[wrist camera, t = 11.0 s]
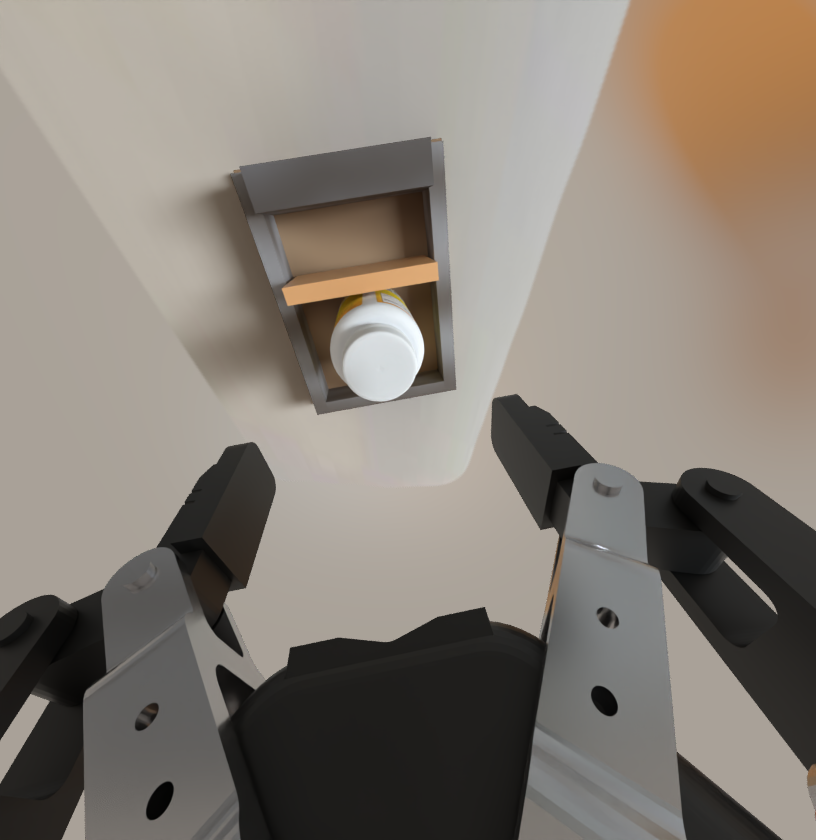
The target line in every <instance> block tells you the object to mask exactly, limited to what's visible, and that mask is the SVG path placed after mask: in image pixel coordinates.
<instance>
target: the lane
mask: <svg viewBox="0 0 816 840" xmlns="http://www.w3.org/2000/svg"><path fill="white" fill-rule="evenodd" d="M233 171H234V173H233V174H231V177H232V180H233V182H234V185H235V188H236V191H237V193H238V196H239V199H240V202H241V204H242V207H243V210H244V213H245V216H246V218H247V221H248V224H249V227H250V229H251V232H252V235H253V238H254V240H255V243H256V246H257V249H258V252H259V254H260V257H261V260H262V263H263V265H264V268H265V271H266V274H267V276H268V279H269V282H270V285H271V288H272V290H273V293H274V296H275V299H276V301H277V304H278V307H279V310H280V312H281V315H282V318H283V321H284V324H285V326H286V329H287V332H288V335H289V337H290V340H291V343H292V346H293V348H294V351H295V354H296V357H297V360H298V362H299V365H300V368H301V371H302V373H303V376H304V379H305V382H306V384H307V387H308V390H309V393H310V396H311V398H312V401H313V404H314V407H315V409H316V412H317V415H319V414H324V413H330V412H335V411H341V410H346V409H352V408H357V407H363V406H368V405H374V404H379V403H385V402H390V401H396V400H401V399H407V398H412V397H418V396H423V395H429V394H434V393H440V392H445V391H451V390H456V377H455V358H454V339H453V320H452V300H451V281H450V262H449V243H448V224H447V205H446V186H445V167H444V148H443V141H442V138H439V139H432V140H431V137H427V138H420V139H414V140H408V141H401V142H395V143H388V144H382V145H375V146H369V147H363V148H356V149H350V150H343V151H337V152H330V153H324V154H317V155H311V156H305V157H298V158H292V159H285V160H279V161H272V162H266V163H260V164H253V165H247V166H240V170H233ZM420 255H425V256H427V257H429V258H431V259H433V260H435V261H437V262H438V275H439V280H438V281H432V282H426V283H420V284H414V285H408V286H402V287H397V288H391V289H392V290H394V291H395V292H396V293H397V294H398V295H399V296H400V297H401V298H402V300H403V301H404V303H405V305H406V306H407V308H408V310H409V311H410V313H411V315H412V317H413V318H414V320H415V322H416V324H417V325H418V327H419V329H420V332H421V334H422V338H423V342H424V357H423V361H422V364H421V367H420V369H419V371H418V373H417V374H416V376H415V379H414V381H413V383H412V385H411V386H410V387H409V389H408V390H407V391H406V392H405V393H403V394H402V395H401V396H399V397H397V398H395V399H392V400H389V401H382V402H378V401H370V400H367V399H364V398H362V397H360V396H358V395H357V394H356V393H354V392H353V391H352V390H351V389H350V387H349V386H348V385H347V383H345V382H344V381H343V380H342V379H341V377H340V376H339V375H338V373H337V372H336V370H335V368H334V366H333V363H332V359H331V354H330V343H331V337H332V333H333V330H334V326H335V322H336V318H337V314H338V310H339V307H340V305H341V302H342V300H343V299H344V297H345V296H344V297H338V298H332V299H326V300H320V301H315V302H309V303H303V304H297V305H291V306H288V305H287V303H286V300H285V297H284V294H283V291H282V288H283V287H284V286H285V285H286V284H288V283H289V282H290V281H291V280H293V279H294V278H295V277H297V276H300V275H306V274H312V273H318V272H324V271H330V270H336V269H342V268H348V267H354V266H360V265H366V264H372V263H378V262H384V261H390V260H396V259H402V258H408V257H414V256H420Z"/></svg>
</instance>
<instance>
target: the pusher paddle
mask: <svg viewBox="0 0 816 840" xmlns="http://www.w3.org/2000/svg"><path fill="white" fill-rule="evenodd" d="M438 280H439V275H438V262H437V261H435V260H433V259H431V258H429V257H427V256H425V255H420V256H414V257H408V258H402V259H396V260H390V261H384V262H378V263H372V264H366V265H360V266H354V267H348V268H342V269H336V270H330V271H324V272H318V273H312V274H306V275H300V276H297V277H295V278H294V279H293V280H291V281H290V282H289V283H288V284H286V285H285V286H284V287H283V288H282V291H283V294H284V297H285V300H286V303H287V305H288V306H291V305H297V304H303V303H309V302H315V301H320V300H326V299H332V298H338V297H344V296H350V295H356V294H361V293H367V292H373V291H379V290H385V289H391V288H397V287H402V286H408V285H414V284H420V283H426V282H432V281H438Z"/></svg>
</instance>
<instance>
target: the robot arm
mask: <svg viewBox="0 0 816 840" xmlns="http://www.w3.org/2000/svg"><path fill="white" fill-rule="evenodd" d="M491 439H492V444H493V448H494V450H495V452H496V454H497V456H498V457H499V459H500V461H501V463H502V464H503V466H504V468H505V469H506V471H507V473H508V475H509V476H510V478H511V480H512V482H513V483H514V485H515V487H516V488H517V490H518V492H519V494H520V495H521V497H522V499H523V501H524V502H525V504H526V506H527V507H528V509H529V511H530V513H531V514H532V516H533V518H534V519H535V521H536V523H537V524H538V526H539V528H540V530H542V529H547V528H552V527H554V528H555V529H556V531H557V532H558V534H559V539H558V543H557V548H556V554H555V559H554V564H553V570H552V575H551V581H550V587H549V591H548V597H547V602H546V607H545V611H544V616H543V620H542V625H541V630H540V635H539V638H537V637H536V636H534V635H532V634H530V633H528V632H526V631H524V630H522V629H519V628H517V627H514V626H511V625H508V624H503V623H499V622H492V621H489V619H488V616H487V612H486V609H485V607H483V608H478V609H473V610H468V611H464V612H459V613H454V614H449V615H445V616H440V617H437V618H435V619H433V620H431V621H429V622H428V623H426V624H424V625H422V626H420V627H418V628H417V629H415V630H413V631H411V632H409V633H407V634H405V635H403V636H402V637H400V638H398V639H396V640H394V641H391V642H376V641H367V640H357V639H347V638H335V639H330V640H326V641H321V642H316V643H311V644H306V645H301V646H297V647H292V648H290V653H289V658H288V664H287V666H286V667H284V668H282V669H281V670H279V671H278V672H276V673H275V674H273V675H272V676H271V677H269V678H268V679H267V680H265V679H264V677H263V676H262V674H261V673H260V672H259V670H258V669H257V668H256V666H255V664H254V663H253V661H252V659H251V657H250V654H249V652H248V650H247V648H246V645H245V643H244V641H243V639H242V636H241V634H240V632H239V630H238V628H237V625H236V623H235V621H234V619H233V616H232V614H231V612H230V609H229V607H228V606H227V605H226V604H225V603H224V602H225V599H226V596H227V593H228V592H229V591H233V590H239V589H244V588H246V586H247V583H248V580H249V576H250V573H251V570H252V567H253V563H254V560H255V557H256V553H257V550H258V547H259V544H260V541H261V537H262V534H263V530H264V527H265V524H266V521H267V518H268V515H269V511H270V508H271V505H272V502H273V498H274V495H275V490H276V484H275V479H274V476H273V474H272V472H271V470H270V468H269V466H268V465H267V463H266V461H265V459H264V457H263V455H262V453H261V452H260V450H259V448H258V446H257V445H256V444H255V443H253V442H250V443H245V444H239V445H234V446H229V447H227V448H226V449H225V451H224V452H223V454H222V456H221V457H220V459H219V461H218V463H217V464H215V465H213V466H212V467H211V468H210V469H208V470H207V472H205V473H204V474H203V475H202V476H201V477H200V478H199V480H198V481H197V483H196V484H195V486H194V488H193V490H192V493H191V494H189V496H188V497H187V499H186V501H185V505H183V506H182V507H181V509H180V510H179V512H178V514H177V515H176V517H175V518H174V520H173V522H172V523H171V525H170V527H169V528H168V530H167V532H166V533H165V535H164V536H163V538H162V540H161V541H160V543H159V544H158V546H157V548H154V549H151V550H148V551H146V552H144V553H141V554H140V555H138V556H136V557H134V558H133V559H132V560H130V561H129V562H127V563H126V564H125V565H124V566H123V567H121V568H120V569H119V570H118V571H117V572H116V573H115V574H114V575H113V576H112V578H111V579H110V580H109V582H108V583H107V585H106V586H105V588H104V589H103V590H101V591H98V592H96V593H94V594H92V595H90V596H87V597H85V598H83V599H81V600H78V601H76V602H74V603H71V604H68V603H66V602H65V601H63V600H61V599H60V598H58V597H56V596H54V595H44V596H40V597H37V598H34V599H32V600H29V601H27V602H25V603H23V604H21V605H20V606H18V607H16V608H14V609H13V610H12V611H10V612H8V613H7V614H5V615H4V616H3V617H2V618H0V740H1V738H2V737H3V735H4V734H5V732H6V731H7V729H8V727H9V726H10V724H11V723H12V721H13V720H14V718H15V717H16V715H17V714H18V712H19V711H20V709H21V708H22V706H23V704H24V703H25V701H26V700H27V698H28V697H29V695H30V694H32V695H35V696H38V697H40V698H43V699H46V700H49V701H50V702H49V704H48V705H47V707H46V709H45V710H44V712H43V714H42V715H41V717H40V719H39V720H38V722H37V724H36V725H35V727H34V729H33V730H32V732H31V734H30V735H29V737H28V739H27V740H26V742H25V744H24V745H23V747H22V749H21V750H20V752H19V753H18V755H17V757H16V759H15V760H14V762H13V764H12V765H11V767H10V769H9V770H8V772H7V773H6V775H5V777H4V779H3V780H2V782H1V784H0V840H61V839H62V837H63V835H64V832H65V830H66V828H67V826H68V824H69V821H70V819H71V817H72V815H73V812H74V810H75V808H76V806H77V803H78V801H79V799H80V796H81V795H82V792H83V790H84V795H85V840H782V839H781V838H780V837H779V836H777V835H776V834H775V833H774V832H773V831H771V830H770V829H769V828H768V827H766V826H765V825H764V824H763V823H762V822H761V821H759V820H758V819H757V818H756V817H755V816H753V815H752V814H751V813H750V812H749V811H747V810H746V809H745V808H744V807H743V806H741V805H740V804H739V803H738V802H736V801H735V800H734V799H733V798H732V797H731V796H729V795H728V794H727V793H726V792H725V791H723V790H722V789H721V788H720V787H719V786H717V785H716V784H715V783H714V782H713V781H711V780H710V779H709V778H708V777H706V776H705V775H704V774H703V773H702V772H700V771H699V770H698V769H697V768H695V766H693V765H692V764H691V763H690V762H689V761H687V760H686V759H685V758H684V757H682V756H681V755H680V754H679V753H678V752H677V751H676V740H675V729H674V718H673V706H672V695H671V684H670V672H669V661H668V651H667V640H666V628H665V616H664V605H663V594H662V583H661V580H662V581H663V583H664V584H665V585H666V587H667V588H668V589H669V591H670V592H671V593H672V594H673V596H674V597H675V598H676V600H677V601H678V602H679V603H680V605H681V606H682V607H683V609H684V610H685V611H686V612H687V614H688V615H689V617H690V618H691V619H692V620H693V622H694V623H695V624H696V626H697V627H698V628H699V630H700V631H701V632H702V634H703V635H704V636H705V637H706V639H707V640H708V641H709V643H710V644H711V645H712V646H713V648H714V649H715V650H716V652H717V653H718V654H719V656H720V657H721V658H722V660H723V661H724V662H725V664H726V665H727V666H728V667H729V669H730V670H731V671H732V673H733V674H734V675H735V677H736V678H737V679H738V680H739V682H740V683H741V684H742V685H743V687H744V688H745V690H746V691H747V692H748V693H749V695H750V696H751V697H752V699H753V700H754V701H755V703H756V704H757V705H758V707H759V708H760V709H761V710H762V712H763V713H764V714H765V716H766V717H767V718H768V720H769V721H770V722H771V723H772V725H773V726H774V727H775V729H776V730H777V731H778V733H779V734H780V735H781V736H782V738H783V739H784V740H785V742H786V743H787V744H788V746H789V747H790V748H791V750H792V751H793V752H794V753H795V755H796V756H797V757H798V759H800V761H801V763H802V764H803V765H804V766H805V768H806V769H807V770H808V776H807V785H808V790H809V795H810V798H811V800H812V803H813V806H814V809H815V819H816V531H815V530H814V529H812V528H811V527H809V526H808V525H807V524H805V523H804V522H803V521H801V520H800V519H798V518H797V517H796V516H794V515H793V514H792V513H790V512H789V511H787V510H786V509H785V508H783V507H782V506H780V505H779V504H778V503H776V502H775V501H774V500H772V499H771V498H770V497H768V496H767V495H765V494H764V493H763V492H761V491H760V490H759V489H757V488H755V487H754V486H753V485H752V484H750V483H748V482H747V481H745V480H743V479H741V478H739V477H737V476H735V475H732V474H730V473H726V472H723V471H719V470H715V469H709V468H694V469H690V470H687V471H685V472H684V473H683V474H682V475H681V477H680V479H679V481H678V483H677V484H669V483H651V482H640V481H638V480H637V479H636V478H635V477H634V476H633V475H631V474H630V473H628V472H627V471H625V470H623V469H621V468H619V467H616V466H613V465H609V464H603V463H598V462H597V461H596V460H595V459H594V458H593V457H592V456H591V455H590V454H589V453H588V452H587V451H586V450H585V449H584V448H583V447H582V446H581V445H580V444H579V443H578V442H577V441H576V440H575V439H574V438H573V437H572V436H571V435H570V434H569V433H567V432H566V430H565V429H564V428H563V427H562V426H561V425H559V423H558V421H557V420H556V419H555V418H554V417H553V416H552V415H551V414H550V413H548V412H546V411H544V410H542V409H540V408H539V407H537V406H530V407H529V406H528V405H527V404H526V403H525V402H524V401H523V400H522V399H521V397H520V396H519V395H517V394H514V395H509V396H504V397H498V398H494V399H493V402H492V425H491ZM727 556H728V557H729V558H730V559H731V560H732V561H733V562H734V563H735V564H736V565H737V566H738V567H739V568H740V569H741V570H742V571H743V572H744V573H745V574H746V575H747V576H748V577H749V578H750V579H751V580H752V581H753V582H754V583H755V584H756V585H757V586H758V587H759V588H760V589H761V590H762V591H763V592H764V593H765V594H766V595H767V596H768V597H769V599H770V600H771V601H772V603H773V604H774V606H775V608H776V611H777V614H778V615H777V614H776V613H775V612H774V611H773V610H772V609H771V608H770V607H769V606H768V605H767V604H766V603H765V602H764V601H763V600H762V599H761V598H760V597H759V596H758V595H757V594H756V593H755V592H754V591H753V590H752V589H751V588H750V587H749V586H748V585H747V584H746V583H745V582H744V581H743V580H742V579H741V578H740V577H739V576H738V575H737V574H736V573H735V572H734V571H733V570H732V569H731V568H730V567H729V566H728V565H727V564H726V563H725V561H724V560H725V559H726V558H727Z"/></svg>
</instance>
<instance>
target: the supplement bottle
mask: <svg viewBox="0 0 816 840" xmlns="http://www.w3.org/2000/svg"><path fill="white" fill-rule="evenodd" d="M330 354H331V359H332V363H333V366H334V368H335V370H336V372H337V373H338V375H339V376H340V377H341V379H342V380H343V381H344V382H345V383H347V385H348V386H349V387H350V389H351V390H352V391H353V392H354V393H356V394H357V395H358V396H360V397H362V398H364V399H367V400H370V401H378V402H382V401H389V400H392V399H395V398H397V397H399V396H401V395H402V394H403V393H405V392H406V391H407V390H408V389H409V387H410V386H411V385H412V383H413V381H414V379H415V376H416V374H417V373H418V371H419V369H420V367H421V364H422V361H423V357H424V342H423V338H422V334H421V332H420V329H419V327H418V325H417V324H416V322H415V320H414V318H413V317H412V315H411V313H410V311H409V310H408V308H407V306H406V305H405V303H404V301H403V300H402V298H401V297H400V296H399V295H398V294H397V293H396V292H395V291H394V290H392V289H385V290H379V291H373V292H367V293H361V294H356V295H350V296H345V297H344V299H343V300H342V302H341V305H340V307H339V310H338V314H337V318H336V322H335V326H334V330H333V333H332V337H331V343H330Z"/></svg>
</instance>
